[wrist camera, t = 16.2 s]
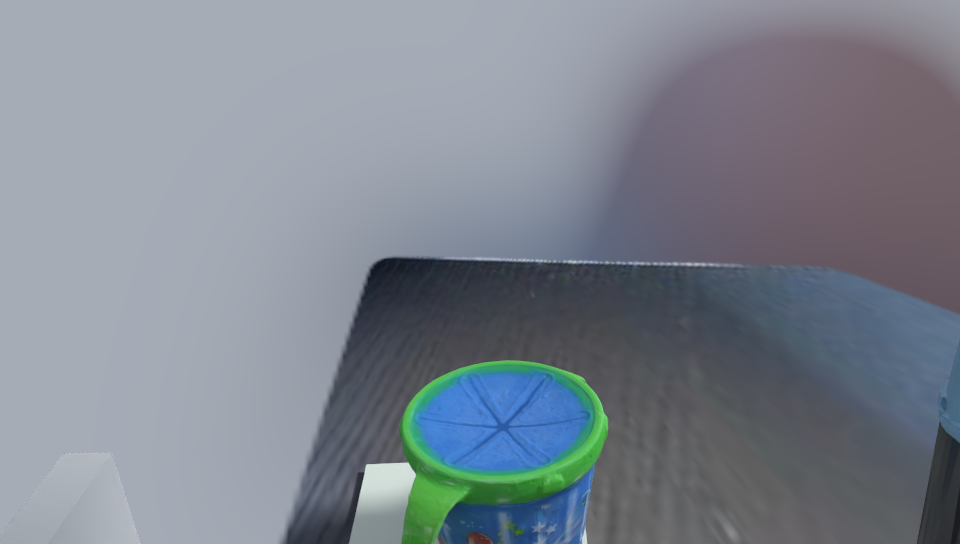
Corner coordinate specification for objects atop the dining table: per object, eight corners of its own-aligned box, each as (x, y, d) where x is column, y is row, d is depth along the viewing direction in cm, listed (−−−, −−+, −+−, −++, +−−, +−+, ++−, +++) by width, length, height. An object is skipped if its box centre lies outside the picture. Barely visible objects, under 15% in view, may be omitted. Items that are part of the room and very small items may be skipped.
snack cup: (492, 708, 41) (476, 543, 37) (347, 601, 48) (319, 450, 43) (666, 523, 51) (670, 377, 47) (527, 456, 58) (519, 322, 53)
